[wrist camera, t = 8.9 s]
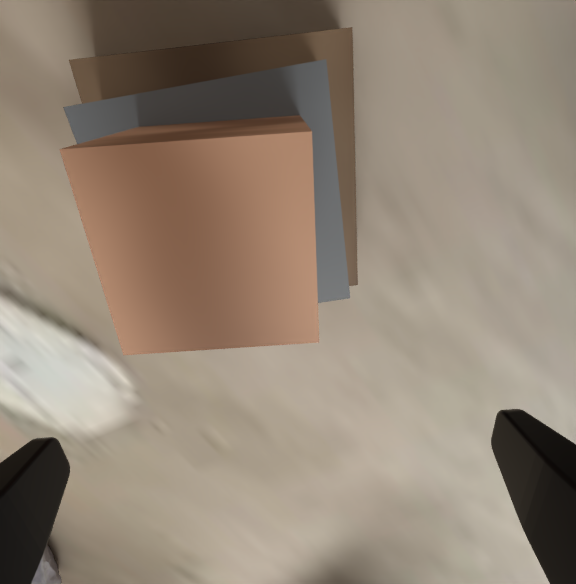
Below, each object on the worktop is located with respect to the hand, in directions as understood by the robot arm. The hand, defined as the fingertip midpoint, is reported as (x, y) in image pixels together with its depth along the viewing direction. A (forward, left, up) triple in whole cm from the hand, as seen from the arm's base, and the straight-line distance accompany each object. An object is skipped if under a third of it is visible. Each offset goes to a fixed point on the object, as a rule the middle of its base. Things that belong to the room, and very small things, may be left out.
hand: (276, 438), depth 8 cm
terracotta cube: (+1, -3, -8) cm, 8 cm away
